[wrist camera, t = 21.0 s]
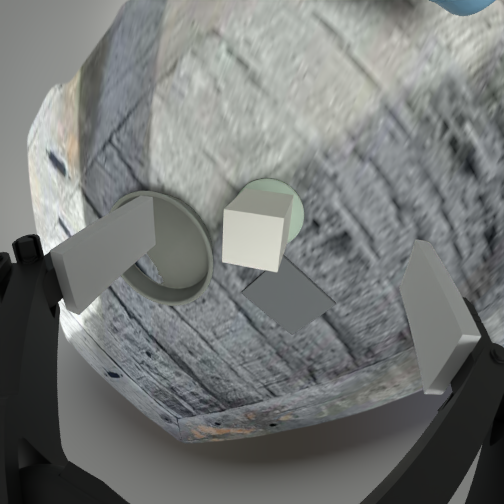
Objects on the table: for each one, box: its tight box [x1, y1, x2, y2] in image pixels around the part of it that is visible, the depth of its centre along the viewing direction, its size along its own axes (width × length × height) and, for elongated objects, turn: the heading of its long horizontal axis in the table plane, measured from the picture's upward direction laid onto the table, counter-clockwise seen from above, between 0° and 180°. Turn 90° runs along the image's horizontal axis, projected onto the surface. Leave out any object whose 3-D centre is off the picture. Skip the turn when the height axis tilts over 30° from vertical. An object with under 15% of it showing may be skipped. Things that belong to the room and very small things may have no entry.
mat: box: [242, 255, 336, 335], centre depth 57 cm, size 14×12×1 cm
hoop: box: [110, 191, 213, 306], centre depth 57 cm, size 25×25×4 cm
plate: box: [237, 178, 304, 243], centre depth 50 cm, size 12×12×1 cm
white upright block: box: [222, 188, 294, 272], centre depth 45 cm, size 8×8×11 cm
